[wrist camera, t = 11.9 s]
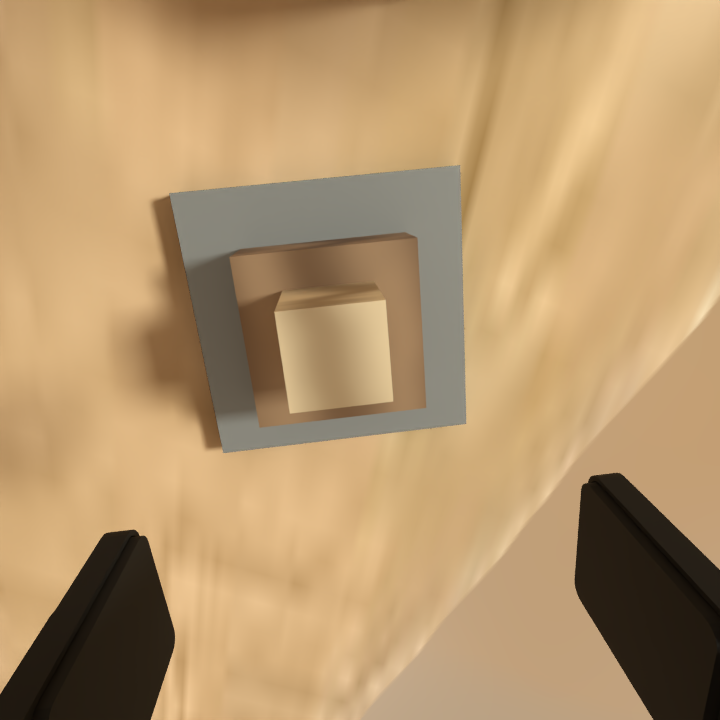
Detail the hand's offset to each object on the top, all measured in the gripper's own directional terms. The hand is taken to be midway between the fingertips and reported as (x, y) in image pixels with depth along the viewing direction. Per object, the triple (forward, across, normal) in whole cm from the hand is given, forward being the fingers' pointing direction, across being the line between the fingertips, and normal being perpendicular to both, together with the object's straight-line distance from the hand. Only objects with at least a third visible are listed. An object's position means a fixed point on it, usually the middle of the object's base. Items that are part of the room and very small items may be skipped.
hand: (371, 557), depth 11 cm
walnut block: (+22, +1, +1) cm, 22 cm away
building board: (+24, +1, +1) cm, 24 cm away
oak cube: (+18, +1, 0) cm, 18 cm away
